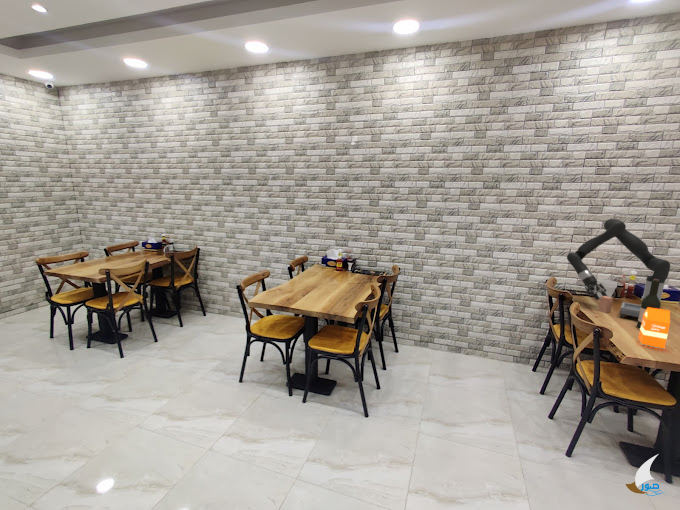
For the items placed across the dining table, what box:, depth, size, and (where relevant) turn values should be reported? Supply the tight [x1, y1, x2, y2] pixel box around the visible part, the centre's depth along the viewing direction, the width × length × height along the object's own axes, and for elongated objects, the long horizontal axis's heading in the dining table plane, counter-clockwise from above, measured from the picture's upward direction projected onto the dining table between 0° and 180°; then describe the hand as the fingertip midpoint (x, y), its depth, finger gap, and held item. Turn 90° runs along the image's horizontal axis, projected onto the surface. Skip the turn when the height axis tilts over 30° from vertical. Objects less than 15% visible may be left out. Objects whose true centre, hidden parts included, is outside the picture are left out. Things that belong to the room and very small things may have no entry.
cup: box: [596, 278, 618, 300], centre depth 240 cm, size 12×12×14 cm
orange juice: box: [638, 307, 671, 349], centre depth 169 cm, size 8×9×20 cm
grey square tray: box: [619, 301, 641, 319], centre depth 206 cm, size 14×14×7 cm
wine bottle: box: [636, 279, 662, 329], centre depth 188 cm, size 8×8×30 cm
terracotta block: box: [598, 296, 614, 314], centre depth 216 cm, size 5×5×10 cm
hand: (602, 298), depth 218 cm, fingers open, 8 cm apart
